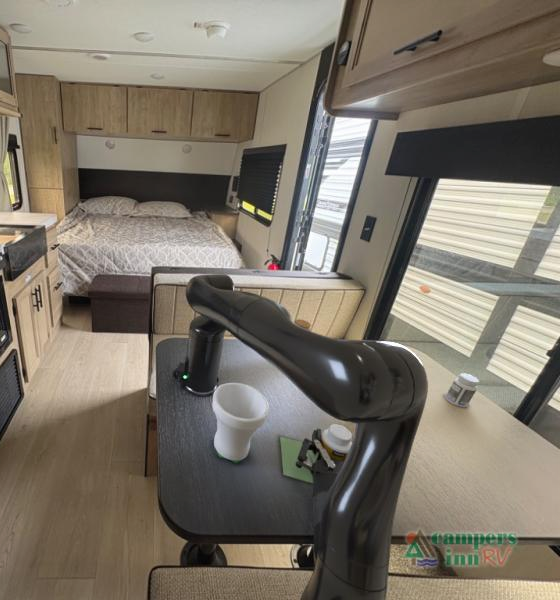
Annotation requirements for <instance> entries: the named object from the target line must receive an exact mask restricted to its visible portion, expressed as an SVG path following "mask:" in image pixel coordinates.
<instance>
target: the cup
mask: <svg viewBox="0 0 560 600" xmlns="http://www.w3.org/2000/svg"><path fill="white" fill-rule="evenodd" d="M212 411H213V413H214V414H215V417H216V422H217V423H216V425H217V426H216V432H215V434H214V438H213V445H214V449H215V450H216V451H215V452H216V453H217V455H218V457H219V458H220V459H226V460H229V461H231V462H232V463H234V464H238V463H239V462H241V461H242V460H244V459H246V458H247V456H248V455H249V453H250V448H251V440H252V437H253V435H254V434H255V432H256V431H257V430H258V429H259V428H262V426H264V424H265V423H266V421H267V418H268V414H269V411H270V405H269V402H268V399H267V398H266V397H265V396H264V395H263V393H261V392H260V391H259V390H258V389H256V388H255V387H252V386H251V385H248V384H247V383H246V384H245V383H242V382H226V383H222V384H220V385H218V386H217V387H216V390H215V391H214V393H213V396H212Z"/></svg>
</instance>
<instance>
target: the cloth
mask: <svg viewBox="0 0 560 600" xmlns="http://www.w3.org/2000/svg"><path fill="white" fill-rule="evenodd" d="M302 444H303V441H300V440H295V439H291V438H287V437H283V436H279V445H280V455H281V465H282V474H283V476H284V477H288V478H290V479H295V480H297V481H298V480H299V481H301V482H305V483H309V484H312V485H313V476H312V474H311V472H310V470H309V469H307V468H305V467H303V466H302V468H298V467H297V466H296V461H297V458H298V455H299V452H300V449H301V447H302ZM306 455H308V456H309V458H310V462H311V463H312V464H313V456H314V455H313V453H312V451H311V450H308V451H307V454H306Z"/></svg>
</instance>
